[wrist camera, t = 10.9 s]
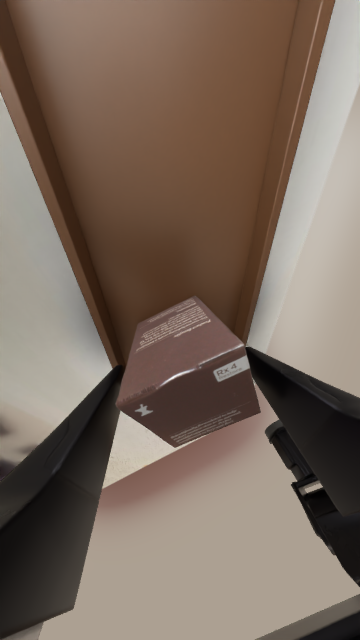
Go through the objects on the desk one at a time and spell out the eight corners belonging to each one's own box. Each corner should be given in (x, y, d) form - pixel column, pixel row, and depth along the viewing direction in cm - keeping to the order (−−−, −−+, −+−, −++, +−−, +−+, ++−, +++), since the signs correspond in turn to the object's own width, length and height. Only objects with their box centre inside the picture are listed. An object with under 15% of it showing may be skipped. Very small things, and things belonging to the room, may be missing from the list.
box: (166, 363, 14) (172, 450, 8) (135, 322, 12) (108, 407, 5) (215, 340, 14) (263, 414, 8) (196, 292, 11) (249, 345, 5)
